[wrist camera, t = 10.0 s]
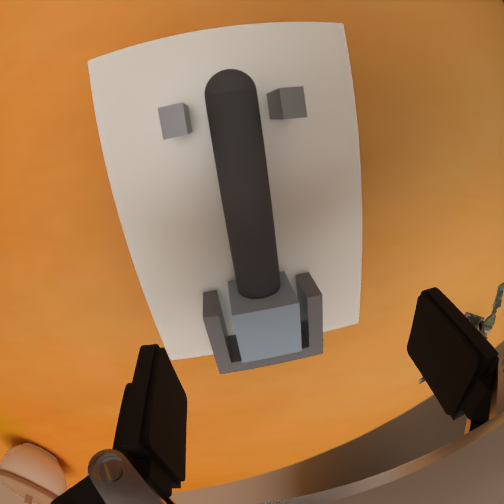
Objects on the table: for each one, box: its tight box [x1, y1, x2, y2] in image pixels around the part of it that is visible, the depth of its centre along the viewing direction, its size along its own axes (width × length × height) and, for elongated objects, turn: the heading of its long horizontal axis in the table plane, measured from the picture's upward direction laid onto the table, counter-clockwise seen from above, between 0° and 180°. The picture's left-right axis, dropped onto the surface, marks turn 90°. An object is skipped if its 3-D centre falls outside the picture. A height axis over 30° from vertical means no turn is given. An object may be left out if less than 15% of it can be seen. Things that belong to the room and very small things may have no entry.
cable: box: [204, 69, 302, 363], centre depth 17 cm, size 17×4×4 cm, turn 8°
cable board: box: [88, 22, 362, 374], centre depth 18 cm, size 23×16×5 cm
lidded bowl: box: [0, 442, 67, 504], centre depth 28 cm, size 13×13×11 cm
